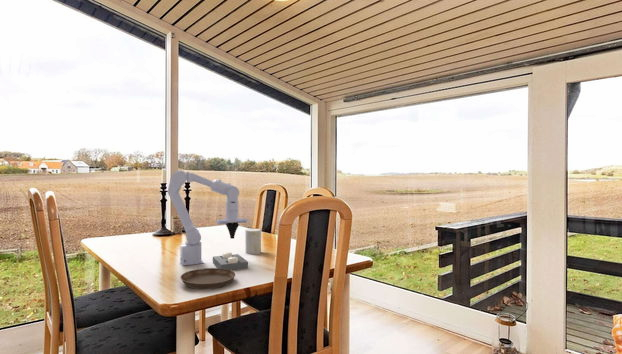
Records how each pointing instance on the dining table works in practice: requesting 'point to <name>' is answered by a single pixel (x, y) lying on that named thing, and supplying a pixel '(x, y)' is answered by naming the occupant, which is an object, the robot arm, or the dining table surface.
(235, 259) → the near knob
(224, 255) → the far knob
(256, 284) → the dining table surface
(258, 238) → the cup
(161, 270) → the dining table surface
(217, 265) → the slate mount
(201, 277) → the plant saucer
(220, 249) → the dining table surface
